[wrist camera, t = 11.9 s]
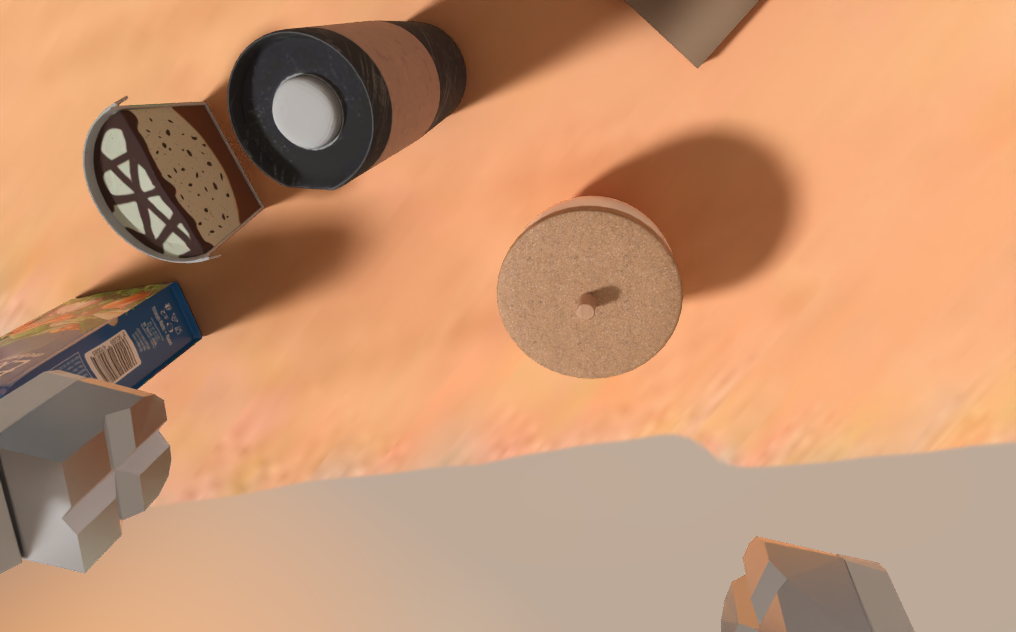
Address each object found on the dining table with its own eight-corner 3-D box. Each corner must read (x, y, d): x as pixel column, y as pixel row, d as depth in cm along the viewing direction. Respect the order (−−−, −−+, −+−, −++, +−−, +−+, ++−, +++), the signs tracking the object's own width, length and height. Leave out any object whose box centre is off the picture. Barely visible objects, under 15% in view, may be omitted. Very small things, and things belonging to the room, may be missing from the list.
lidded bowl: (674, 170, 48) (686, 213, 39) (674, 322, 54) (684, 394, 44) (508, 181, 51) (479, 224, 41) (523, 326, 56) (501, 394, 46)
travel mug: (418, -7, 46) (285, -13, 28) (491, 77, 48) (410, 122, 30) (351, 70, 49) (194, 109, 31) (422, 147, 51) (311, 225, 33)
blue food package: (72, 296, 63) (-232, 456, 41) (177, 278, 60) (-89, 440, 38) (102, 353, 65) (-169, 533, 43) (204, 338, 62) (-30, 524, 40)
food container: (138, 111, 53) (40, 133, 45) (195, 83, 52) (105, 99, 43) (217, 246, 58) (143, 290, 49) (273, 224, 56) (206, 265, 47)
